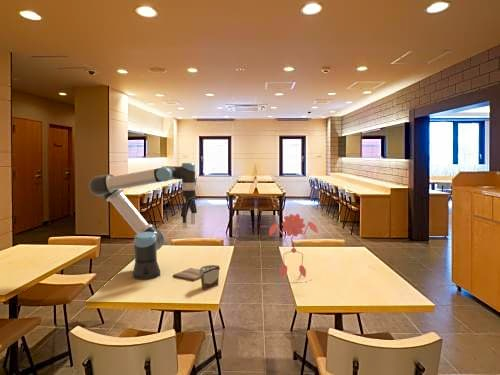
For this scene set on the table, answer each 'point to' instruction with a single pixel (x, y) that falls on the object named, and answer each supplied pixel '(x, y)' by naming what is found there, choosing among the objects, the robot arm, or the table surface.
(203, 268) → the food container
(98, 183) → the robot arm
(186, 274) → the walnut board
